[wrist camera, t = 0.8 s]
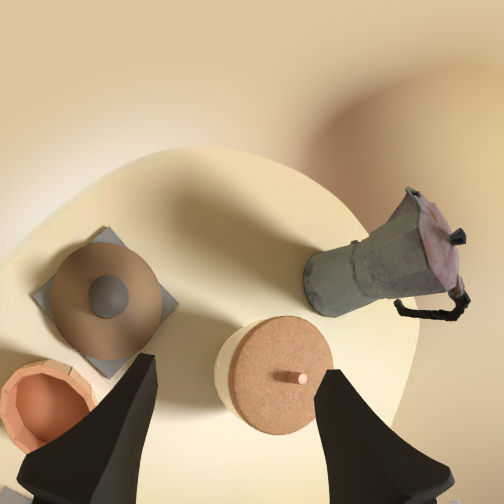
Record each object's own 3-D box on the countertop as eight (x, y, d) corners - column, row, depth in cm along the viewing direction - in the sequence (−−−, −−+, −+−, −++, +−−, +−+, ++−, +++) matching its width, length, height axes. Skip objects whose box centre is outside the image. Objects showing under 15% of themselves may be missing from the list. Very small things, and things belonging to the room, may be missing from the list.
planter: (66, 464, 18) (64, 485, 14) (-3, 400, 16) (-17, 411, 13) (116, 407, 23) (121, 421, 19) (48, 340, 21) (40, 343, 17)
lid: (109, 382, 23) (113, 393, 19) (30, 296, 21) (18, 289, 17) (181, 303, 28) (199, 298, 24) (109, 223, 26) (114, 203, 22)
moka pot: (318, 220, 41) (444, 160, 24) (369, 307, 43) (493, 283, 26) (276, 256, 36) (427, 194, 19) (338, 352, 37) (482, 342, 21)
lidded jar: (187, 409, 26) (230, 437, 18) (211, 307, 30) (261, 297, 22) (275, 420, 30) (334, 439, 22) (293, 333, 34) (354, 329, 27)
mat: (108, 378, 23) (109, 379, 23) (33, 297, 21) (32, 296, 21) (177, 304, 28) (179, 303, 28) (108, 227, 26) (109, 226, 26)
